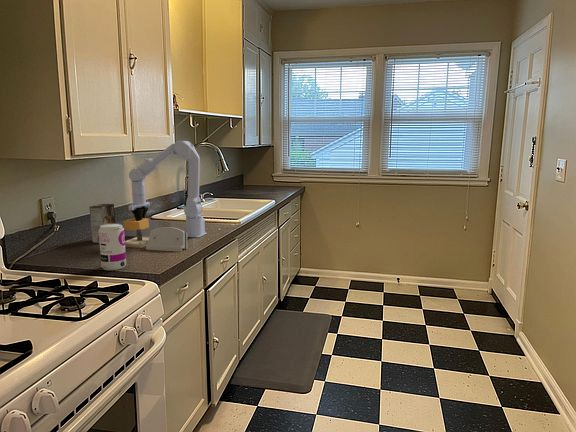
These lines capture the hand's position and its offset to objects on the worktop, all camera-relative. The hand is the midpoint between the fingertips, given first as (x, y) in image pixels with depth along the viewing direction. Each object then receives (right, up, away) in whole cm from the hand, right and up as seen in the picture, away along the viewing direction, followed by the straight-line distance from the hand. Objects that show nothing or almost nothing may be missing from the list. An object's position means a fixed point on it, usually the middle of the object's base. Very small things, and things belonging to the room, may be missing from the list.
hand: (140, 223), depth 206 cm
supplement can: (+8, -15, -52) cm, 55 cm away
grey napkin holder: (+19, -10, -24) cm, 33 cm away
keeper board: (+5, -9, -16) cm, 19 cm away
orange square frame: (-1, -2, -3) cm, 4 cm away
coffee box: (-13, -8, -9) cm, 18 cm away
